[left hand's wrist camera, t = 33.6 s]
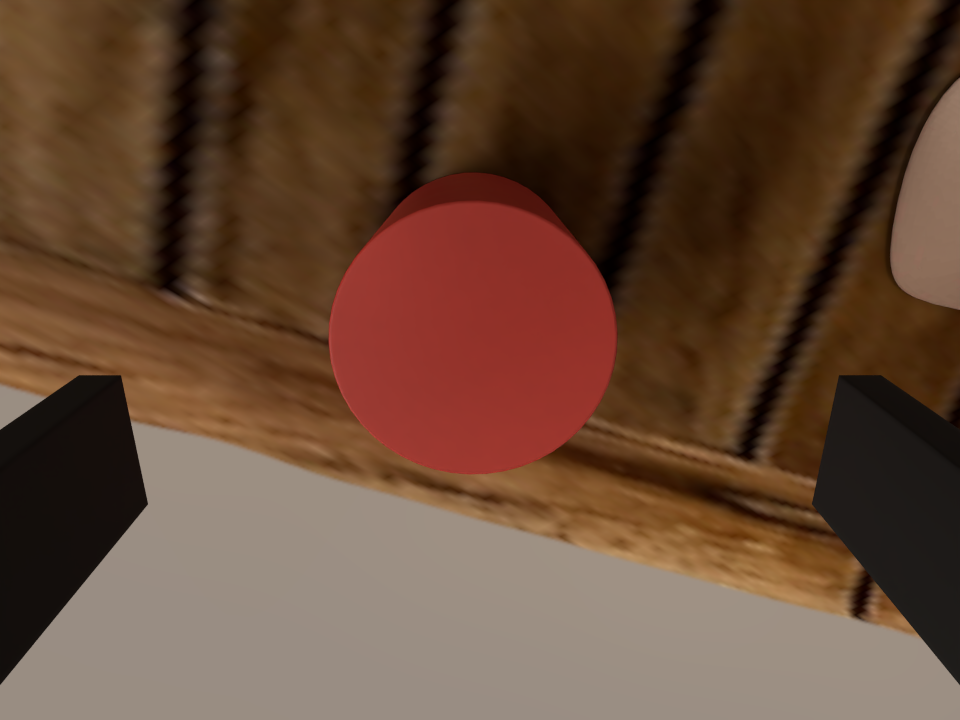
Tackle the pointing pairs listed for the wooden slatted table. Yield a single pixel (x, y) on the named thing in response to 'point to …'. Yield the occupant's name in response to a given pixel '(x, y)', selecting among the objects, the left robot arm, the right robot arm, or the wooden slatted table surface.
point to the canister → (473, 328)
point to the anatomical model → (931, 210)
